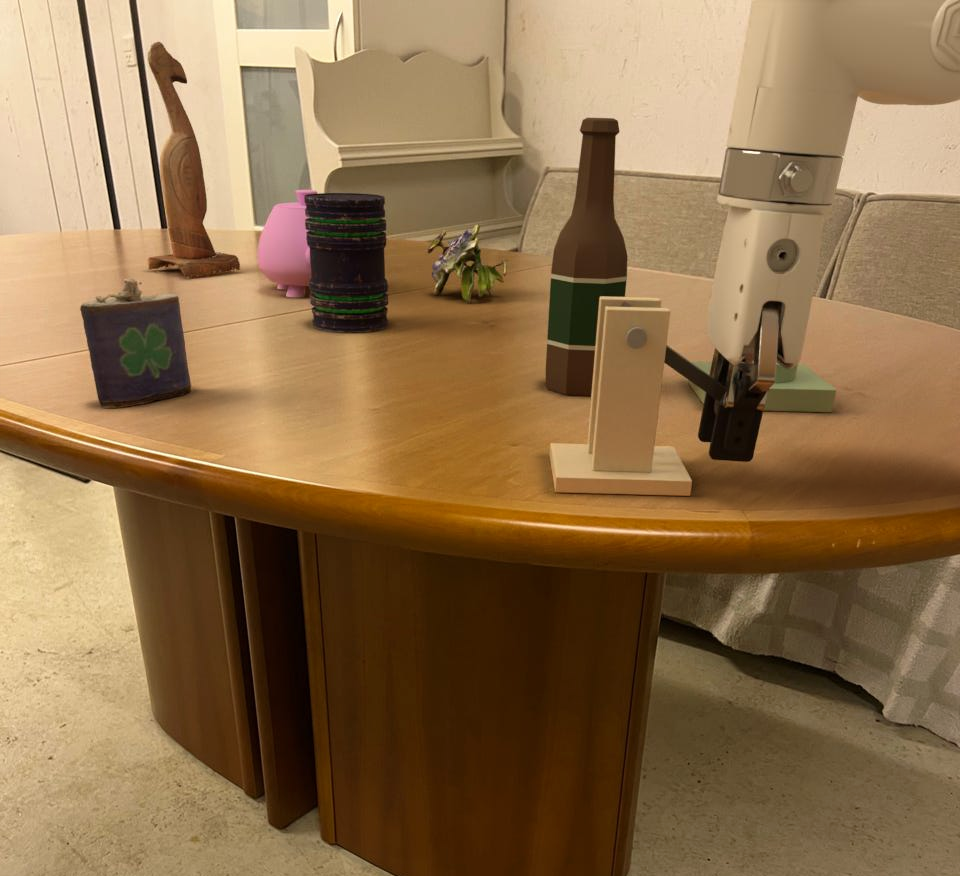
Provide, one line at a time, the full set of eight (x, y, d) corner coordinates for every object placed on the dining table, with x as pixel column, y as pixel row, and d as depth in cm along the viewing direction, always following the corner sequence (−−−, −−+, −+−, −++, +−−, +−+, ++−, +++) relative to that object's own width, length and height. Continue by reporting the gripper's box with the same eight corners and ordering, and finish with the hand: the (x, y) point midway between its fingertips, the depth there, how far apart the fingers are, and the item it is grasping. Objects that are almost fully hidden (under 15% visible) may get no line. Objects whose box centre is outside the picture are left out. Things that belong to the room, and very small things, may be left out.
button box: (801, 385, 97) (809, 346, 95) (831, 412, 88) (840, 370, 86) (687, 382, 97) (692, 343, 95) (706, 409, 88) (712, 367, 86)
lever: (735, 429, 72) (764, 392, 70) (745, 443, 69) (776, 405, 67) (599, 333, 68) (627, 293, 67) (603, 343, 65) (633, 301, 64)
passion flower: (440, 332, 142) (419, 258, 142) (507, 316, 143) (487, 243, 143) (444, 299, 131) (422, 219, 131) (518, 283, 132) (495, 204, 132)
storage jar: (381, 316, 124) (377, 193, 117) (396, 331, 116) (393, 199, 109) (306, 318, 122) (297, 192, 114) (317, 334, 113) (308, 199, 106)
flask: (183, 386, 91) (167, 271, 86) (199, 393, 89) (184, 275, 84) (93, 404, 85) (70, 281, 80) (108, 411, 84) (85, 286, 78)
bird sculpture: (244, 271, 154) (222, 43, 138) (186, 279, 146) (155, 38, 130) (202, 264, 160) (177, 45, 144) (144, 271, 152) (109, 39, 136)
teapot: (384, 302, 133) (381, 196, 126) (276, 307, 128) (267, 197, 121) (346, 278, 150) (342, 184, 143) (249, 282, 145) (240, 185, 138)
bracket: (672, 460, 75) (694, 295, 69) (690, 496, 68) (716, 315, 62) (549, 457, 75) (559, 291, 69) (555, 492, 68) (567, 312, 62)
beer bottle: (530, 379, 97) (544, 116, 85) (598, 375, 99) (620, 118, 87) (559, 399, 90) (577, 117, 78) (630, 394, 92) (659, 119, 81)
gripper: (878, 198, 54) (803, 492, 64) (798, 179, 69) (746, 422, 78) (751, 189, 54) (695, 485, 63) (698, 172, 69) (658, 416, 78)
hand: (724, 448), depth 71 cm, fingers closed on lever, 3 cm apart
